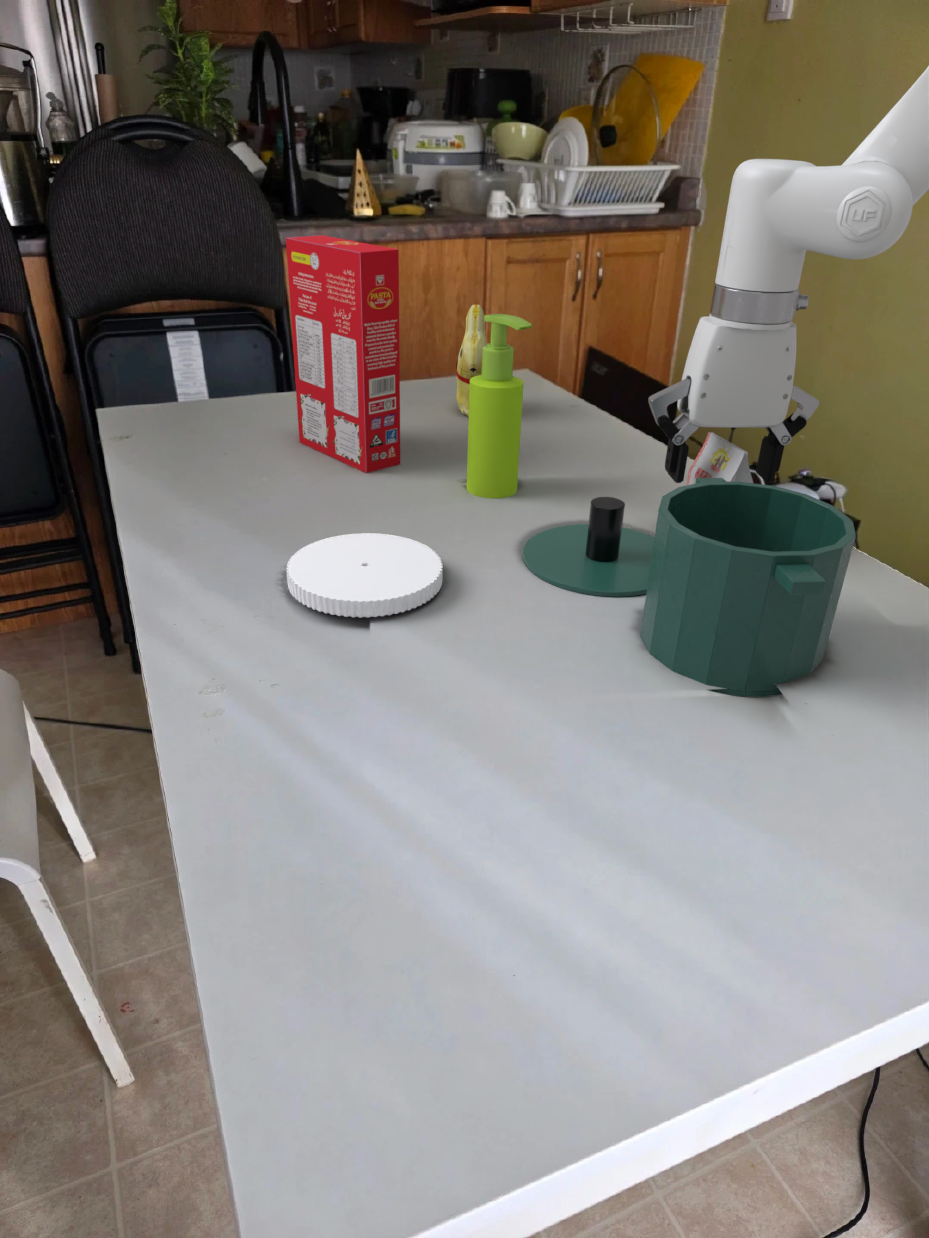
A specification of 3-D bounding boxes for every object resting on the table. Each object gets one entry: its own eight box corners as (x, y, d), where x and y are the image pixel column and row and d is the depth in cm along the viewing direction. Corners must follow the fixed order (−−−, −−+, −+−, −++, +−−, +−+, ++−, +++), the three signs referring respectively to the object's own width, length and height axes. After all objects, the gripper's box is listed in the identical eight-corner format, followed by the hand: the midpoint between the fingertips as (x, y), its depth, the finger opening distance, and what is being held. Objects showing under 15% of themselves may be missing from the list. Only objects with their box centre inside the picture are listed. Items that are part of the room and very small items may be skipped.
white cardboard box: (710, 518, 98) (725, 430, 93) (744, 543, 92) (762, 451, 88) (680, 521, 97) (694, 432, 92) (713, 546, 91) (730, 453, 86)
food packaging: (400, 464, 110) (398, 249, 98) (366, 473, 107) (360, 252, 95) (332, 434, 120) (323, 235, 107) (299, 442, 117) (285, 238, 104)
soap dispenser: (497, 509, 98) (506, 324, 89) (456, 491, 103) (460, 313, 93) (533, 497, 102) (546, 318, 92) (492, 480, 106) (500, 307, 96)
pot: (763, 590, 83) (790, 469, 77) (868, 714, 66) (913, 570, 60) (614, 594, 82) (629, 470, 76) (681, 721, 64) (708, 574, 58)
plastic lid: (418, 637, 74) (418, 611, 72) (262, 614, 76) (260, 589, 75) (458, 566, 86) (458, 543, 84) (322, 549, 88) (320, 525, 87)
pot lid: (654, 532, 94) (662, 473, 91) (702, 600, 81) (714, 534, 78) (511, 534, 93) (515, 474, 89) (537, 604, 79) (542, 537, 76)
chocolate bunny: (453, 420, 127) (455, 312, 120) (456, 399, 137) (459, 297, 129) (500, 422, 127) (506, 313, 120) (500, 400, 137) (505, 299, 129)
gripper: (821, 301, 87) (784, 465, 96) (651, 297, 86) (629, 466, 94) (858, 316, 81) (814, 491, 89) (675, 313, 79) (649, 492, 88)
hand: (719, 478), depth 92 cm, fingers open, 9 cm apart
